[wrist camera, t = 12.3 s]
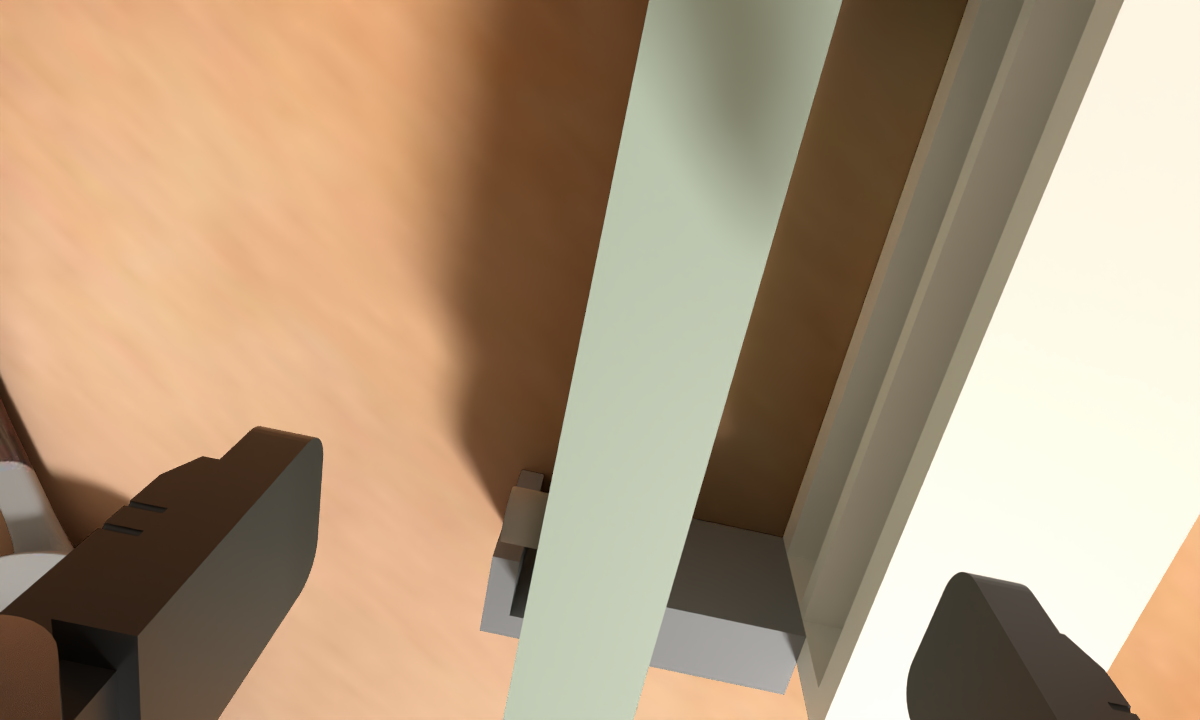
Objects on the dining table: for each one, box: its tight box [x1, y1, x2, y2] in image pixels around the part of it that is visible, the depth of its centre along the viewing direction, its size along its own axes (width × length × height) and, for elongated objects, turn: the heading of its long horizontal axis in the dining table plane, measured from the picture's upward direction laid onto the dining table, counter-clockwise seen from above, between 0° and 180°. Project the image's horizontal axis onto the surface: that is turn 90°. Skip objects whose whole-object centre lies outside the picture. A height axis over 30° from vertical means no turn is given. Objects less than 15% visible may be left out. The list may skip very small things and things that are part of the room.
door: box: [500, 0, 842, 720], centre depth 20 cm, size 4×20×10 cm, turn 169°
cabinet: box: [480, 0, 1200, 720], centre depth 21 cm, size 16×23×8 cm
